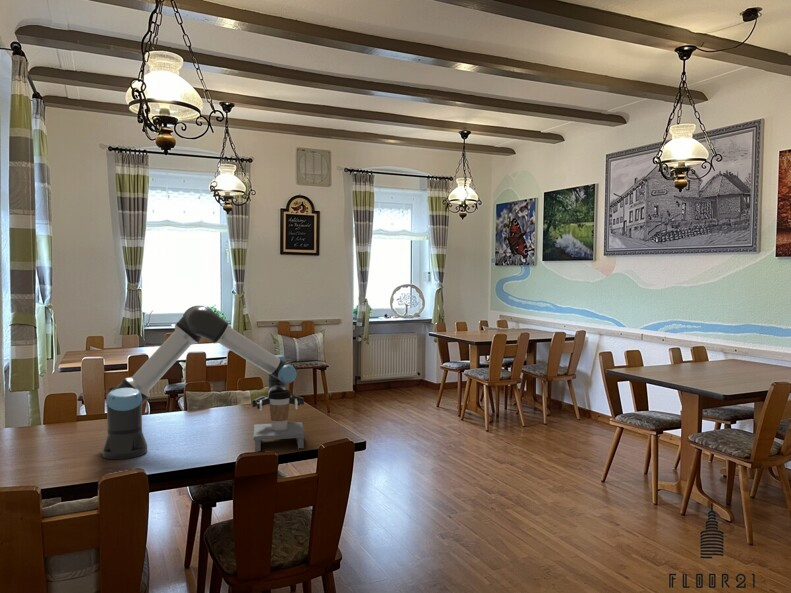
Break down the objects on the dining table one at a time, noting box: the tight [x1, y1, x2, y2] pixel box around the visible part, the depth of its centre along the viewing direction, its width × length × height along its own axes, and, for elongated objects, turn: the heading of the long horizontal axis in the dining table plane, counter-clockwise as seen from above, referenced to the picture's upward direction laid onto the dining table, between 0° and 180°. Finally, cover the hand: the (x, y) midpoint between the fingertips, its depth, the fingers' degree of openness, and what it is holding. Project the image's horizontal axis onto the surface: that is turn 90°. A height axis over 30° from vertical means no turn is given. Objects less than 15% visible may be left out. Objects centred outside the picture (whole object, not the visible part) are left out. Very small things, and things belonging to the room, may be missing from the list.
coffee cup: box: [268, 389, 291, 431], centre depth 227 cm, size 8×8×15 cm
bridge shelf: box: [253, 421, 306, 453], centre depth 227 cm, size 19×18×6 cm
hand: (278, 406), depth 223 cm, fingers open, 13 cm apart
